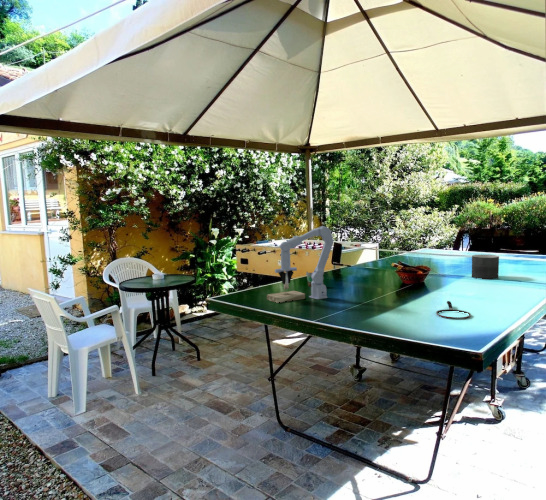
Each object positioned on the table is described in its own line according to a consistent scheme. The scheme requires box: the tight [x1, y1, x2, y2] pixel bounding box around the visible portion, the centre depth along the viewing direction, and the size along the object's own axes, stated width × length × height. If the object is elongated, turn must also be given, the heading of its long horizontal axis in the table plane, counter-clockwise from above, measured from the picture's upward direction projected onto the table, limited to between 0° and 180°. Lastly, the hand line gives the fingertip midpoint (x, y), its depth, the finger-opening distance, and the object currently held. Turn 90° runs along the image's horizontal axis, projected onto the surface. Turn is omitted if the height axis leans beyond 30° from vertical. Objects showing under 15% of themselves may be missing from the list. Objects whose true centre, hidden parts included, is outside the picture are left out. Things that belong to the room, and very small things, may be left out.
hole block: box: [266, 290, 306, 304], centre depth 271 cm, size 12×20×3 cm, turn 120°
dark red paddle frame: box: [435, 300, 472, 319], centre depth 229 cm, size 28×16×3 cm, turn 166°
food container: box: [305, 271, 313, 288], centre depth 308 cm, size 12×6×10 cm, turn 62°
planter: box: [471, 254, 500, 280], centre depth 323 cm, size 18×18×16 cm
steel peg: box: [283, 272, 290, 290], centre depth 272 cm, size 3×3×10 cm
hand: (286, 283), depth 272 cm, fingers closed on steel peg, 3 cm apart
